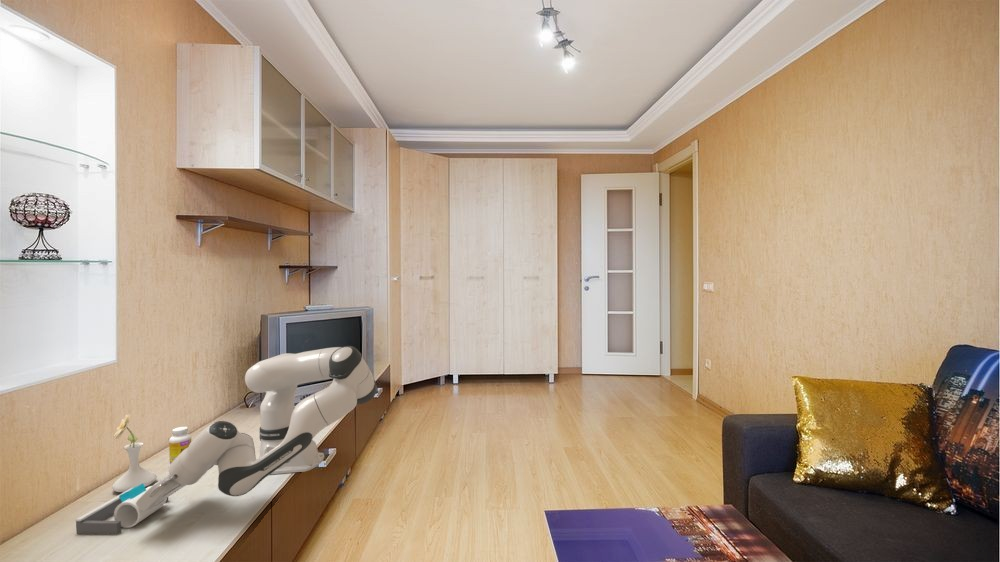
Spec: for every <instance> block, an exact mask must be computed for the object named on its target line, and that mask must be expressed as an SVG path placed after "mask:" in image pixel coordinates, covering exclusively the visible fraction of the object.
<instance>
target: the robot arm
mask: <svg viewBox="0 0 1000 562" xmlns="http://www.w3.org/2000/svg"><path fill="white" fill-rule="evenodd" d="M330 379H331V380H332V382H331V384H330V385H329V386H327V387H325V388H323V389H322V390H319V391H317V392H315V393H313V394H311V395H309V396H307V397H305V398H303V399H302V400H300V401H299V402H298V403H296V405H295V401H296V400H295V398H296V394H297V393H296V392H297V389H298V386H299V385H304V384H306V383H307V384H308V383H313V382H319V381H327V380H330ZM244 383H245V385H246V387H247V388H248V389H249V390H250V391H251V392H254V393H257V394H261V393H265V395H264V398H263V399H262V402H261V403H260V407H259V412H260V415H259V417H260V418H259V419H260V427H259V441H260V449H259V450H260V451H259V457H258V458H257V455H256V448H255V442H254V439H253V437H252V436H251V435H250V434H248V433H245V432H240V431H238V428H237V427H236V426H235V424H234V423H232V422H229V421H226V420H217V421H214V422H212V423H211V424H209V425H208V426H206V427H205V428H204V429H203V430H201V431H200V432H199V433H198V434H197V435H196V436H195V437H194V438H193V440H192V439H191V443H190V445H189V447H188V448H186V449H185V450H183V451H182V452H181V453H180V454H179V456H178V457H177V458H176V459H175V460H174V461H173V462H172V463H171V464H170V463H169V466H168V474H169V475H167V476H166V477H164V478H162V479H160V480H159V481H157V482H156V483H154V484H153V485H151V486H152V487H151V488H149V489H148V490H147V491H146V492H145V493H144V494H143V495H142V496H141V497H140V498H139V499H138V500H137V502H136V505H137V506H138V507H139V508H140V509H141V510H142V511H144V512H145V511H147V510H149V509H150V508H152V507H153V506H156V505H158V504H159V503H161V502H162V501H164V500H165V499H166V498H167V497H168V498H169V497H170V496H172V495H174V494H176V492H178V491H180V490H181V489H182V488H184V487H186V486H190V485H194V484H196V483H197V482H199V480H201V479H202V477H203V476H205V474H206V473H207V472H208V471H209V470H210V469H212V468H213V467H214V466H217V469H218V481H217V482H218V483H217V484H218V485H217V489H218V490H219V491H220V492H221V493H223V494H224V495H226V496H230V497H240V496H241V497H242V496H243V495H245V494H247V493H249V492H251V491H252V490H253V489H254V488H255V487H257V486H258V485H259V484H260V483H261V482H262V481H263V480H264V479H265V478H266V477H268V476H270V475H277V474H278V475H279V474H290V473H291V474H292V473H293V474H294V473H300V472H301V473H303V472H308V471H311V470H312V469H314V468H316V467H318V466H319V465H320V464H322V462H323V461H324V459H325V452H319V451H318V450H319V449H318V445H317V443H316V441H314V440H313V439H314V438H315V437H316V436H317V435H318V434H319V432H322V430H324V429H326V428H327V427H328V426H330V425H332V424H333V423H335V422H337V421H339V420H340V419H341V418H343V417H345V416H347V414H348V413H350V412H351V411H353V410H354V409H355V408H356V406H357V405H363V404H366V403H368V402H370V401H372V399H373V398H374V397H375V396H376V395H377V394H376V393H377V392H378V391H377V390H378V386H377V383H376V379H374V376H373V373H372V371H371V369H370V366H368V363H367V362H366V361H365V359H364V357H362V353H361V352H360V351H359V350H358V348H356V347H355V346H352V345H345V346H335V347H334V346H333V347H326V348H320V349H313V350H307V351H302V352H297V353H292V352H291V353H290V352H289V353H288V352H287V353H281V354H278V355H276V356H272V357H269V358H267V359H264V360H263V359H262V360H260V361H258V362H257V363H254V365H252V366H251V367H250V368H248V369H247V371H246V372H245V376H244Z"/></svg>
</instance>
